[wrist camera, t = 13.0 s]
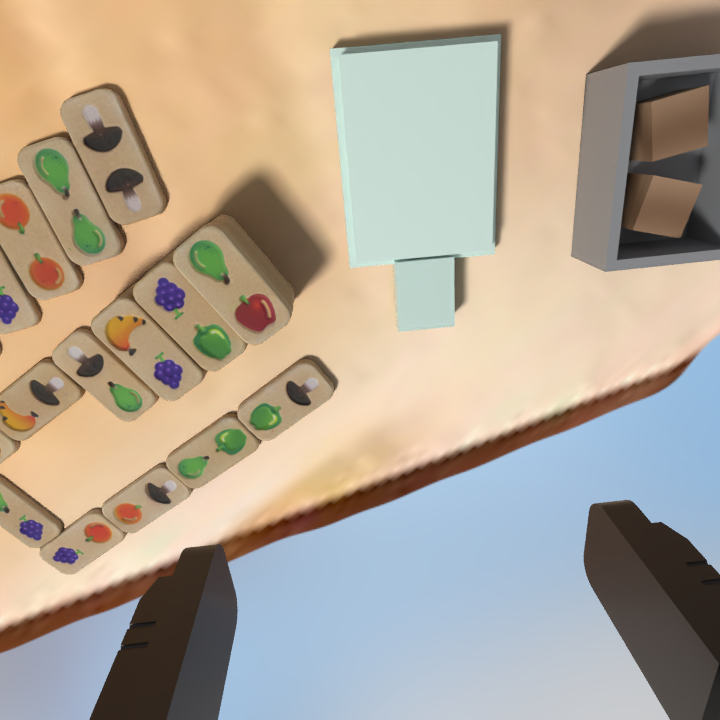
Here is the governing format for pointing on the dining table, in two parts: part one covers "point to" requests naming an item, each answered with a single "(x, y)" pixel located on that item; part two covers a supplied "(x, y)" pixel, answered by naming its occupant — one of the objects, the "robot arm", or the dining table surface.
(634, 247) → the tub
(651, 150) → the walnut block
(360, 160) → the lid
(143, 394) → the pile of dominoes
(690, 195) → the walnut block
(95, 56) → the dining table surface
